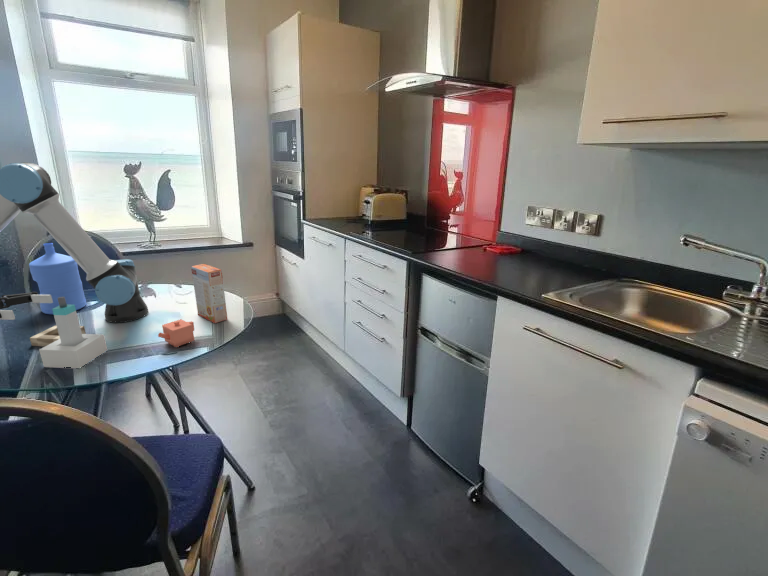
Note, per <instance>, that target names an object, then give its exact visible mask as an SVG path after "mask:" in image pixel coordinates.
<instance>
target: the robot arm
mask: <svg viewBox="0 0 768 576" xmlns="http://www.w3.org/2000/svg"><path fill="white" fill-rule="evenodd" d="M59 198H60V194H59V192H58V191H57V190H56V189H55V188H54V186H53V185H52V179H51V176H50V174H49V173H48V172H47V170H46V169H44V168H43V167H42V166H40V165H38V164H36V163H32V162H23V161H22V162H11V163H9V164H5V165H3V166H1V168H0V233H1V232H3V230H4V229H5V228H6V227H7V226H8V225H9V224H10V223H11V222H12V221H13V220H14V219H15V218H16V217H17V216H18V215H19V214H20V213H21V212H22V213H23V214H28V215H32V216H33V217H34V218H35V220H36V221H38V223H39V224H40V225H41V226H42V227H43V229H44V230H45V231H46V232H48V233H49V234H50V235H51V237H53V239H54V240H55V241H56V242H57V244H58V245H60V246H61V248H62V249H63V251H65V252H66V253H67V254H68V256H71V257H72V258H73V259H74V260H75V261H76V263H77V265H78V267H80V268H81V269H82V270H83V271H84V272H85V273H86V275H85V276H86V277H85V281H86V282H87V283H88V284H89V285H90V286H91V288H93V289H94V291H95V292H94V293H95V295H96V297H97V299H98V300H99V301H100V302H102V303H103V304H105V308H104V318H105V321H106V322H109V323H126V322H125V321H127V322H132V321H135V319H136V320H139V319H141V318H140V317H142V318H144V317H145V316H147V315H148V314H149V309H148V305H147V304H146V302H145V300H144V299H143V297H142V295H141V292H140V287H139V283H138V277H137V272H136V265H135V264H134V263H135V262H134V260H132V259H110V257H108V255H106V253H105V252H104V251H103V250H102V249H101V248H100V246H98V244H97V243H96V242H95V241H94V240H93V239H92V237H91V236H89V234H88V233H87V232H86V231H85V229H84V228H83V227H82V226H81V225H80V223H78V221H77V220H76V219H75V218H74V217H73V216H72V215H71V213H70V212H69V211H68V210H67V209H66V208H65V206H64V205H62V203H61V202H60V201H59V200H60V199H59ZM28 303H33V304H40V303H53V300H52V297H51V295H39V292H37V291H32V292H25V293H24V292H23V293H14V294H3V295H1V296H0V320H1V321H2V320H3V321H4V320H8V321H9V320H10V321H14V320H16V317H15V316H16V315H15V313H14V310H12V309H9V308H10V307H11V306H16V305H22V304H28ZM4 309H5V310H4ZM7 309H8V310H7ZM147 313H148V314H147ZM146 314H147V315H146ZM144 315H145V316H144ZM143 316H144V317H143ZM138 318H139V319H138ZM131 320H132V321H131Z"/></svg>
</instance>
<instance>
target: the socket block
mask: <svg viewBox="0 0 768 576" xmlns="http://www.w3.org/2000/svg"><path fill="white" fill-rule="evenodd" d="M82 336H83V340H84V341H83V342H81V343H79V344H78V345H76V346H62V344H61V340H60V339H58V340H57V341H55V342H53V343H51V344H49V345H47V346H42V348H39V349H38V351H39V353H40V357H41V360H42V364H43V367H44V368H55V369H56V368H58V369H59V368H60V369H67V368H66V367H71V368H70V369H76V368H80V367H82V366H83V365H85V364H87V363H88V362H89V361H91V360H92V359H94V358H96V357H97V356H99V355H101V354H102V353H104V352H105V351H107V350H108V347H107V343H106V337H105V334H101V333H100V334H99V333H97V334H96V333H95V334H94V333H86V334H82ZM107 352H108V351H107ZM105 353H106V352H105ZM105 353H104V354H105ZM102 355H103V354H102ZM102 355H101V356H102ZM99 357H100V356H99ZM96 359H97V358H96ZM94 360H95V359H94ZM91 362H92V361H91ZM88 364H89V363H88ZM88 364H87V365H88ZM85 366H86V365H85ZM64 367H65V368H64ZM82 368H83V367H82Z"/></svg>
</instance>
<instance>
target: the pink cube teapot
mask: <svg viewBox="0 0 768 576" xmlns="http://www.w3.org/2000/svg"><path fill="white" fill-rule="evenodd" d="M194 324H195V323H194V321H192V320H191V321H186V320H183V319H182V318H181V319H177V320H174V321H171V322H168V323H167V322H166V323H164V324H162V326H161V328H162V332H158V335H157V336H158V338H162V339H164V341H165V342H166V343H168V344H169V345H170V344H171V346H172V347H174V348H175V347H178V346H180V347H181V346H183V345H187V344H186V343H189V342H191V343H192V342H194V341H196V340H195V335H194V332H195V325H194ZM178 348H179V347H178Z"/></svg>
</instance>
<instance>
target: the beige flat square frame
mask: <svg viewBox="0 0 768 576" xmlns="http://www.w3.org/2000/svg"><path fill="white" fill-rule="evenodd" d="M80 328H81V332H82V334H87V332H86V329H85V328H86V327H85V326H84V325H80ZM58 339H60V336H59V333H58V329H57V325H56V324H55V325H53V326H52V327H51V326H50V327H49V328H47V329H45V330H44V331H40V332H39V333H37V334H35V335H32V336H31V337H29V340H30V344H31V347H45V346H47V345H49V344H51V343H53V342H55V341H57V340H58Z"/></svg>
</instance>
